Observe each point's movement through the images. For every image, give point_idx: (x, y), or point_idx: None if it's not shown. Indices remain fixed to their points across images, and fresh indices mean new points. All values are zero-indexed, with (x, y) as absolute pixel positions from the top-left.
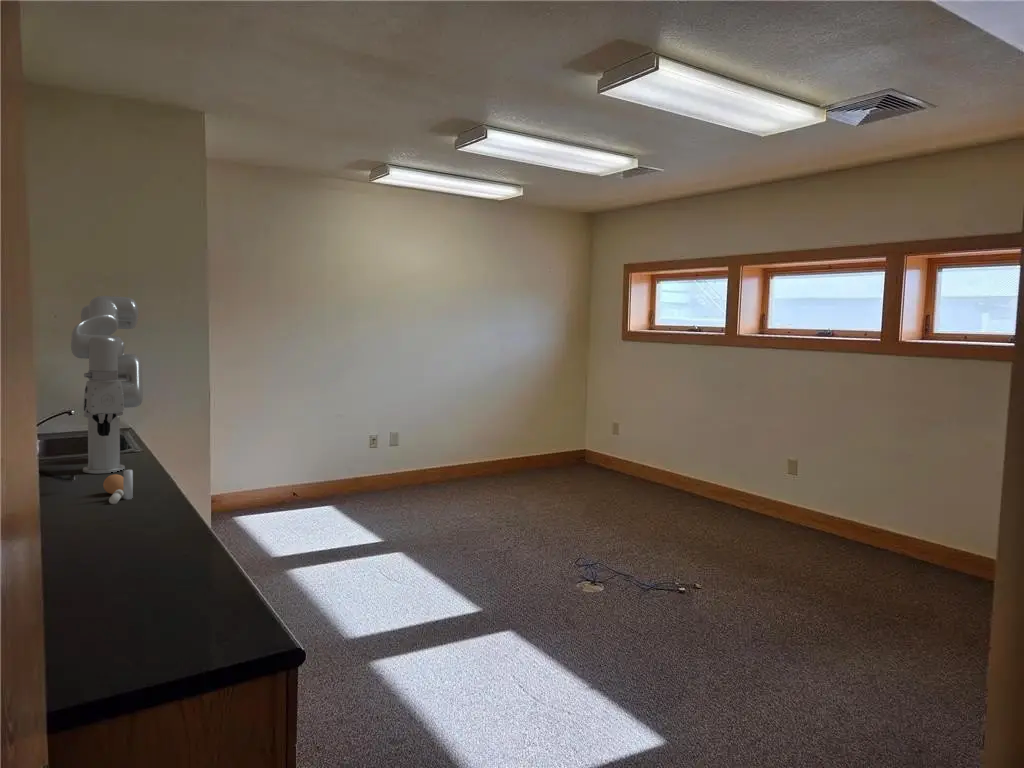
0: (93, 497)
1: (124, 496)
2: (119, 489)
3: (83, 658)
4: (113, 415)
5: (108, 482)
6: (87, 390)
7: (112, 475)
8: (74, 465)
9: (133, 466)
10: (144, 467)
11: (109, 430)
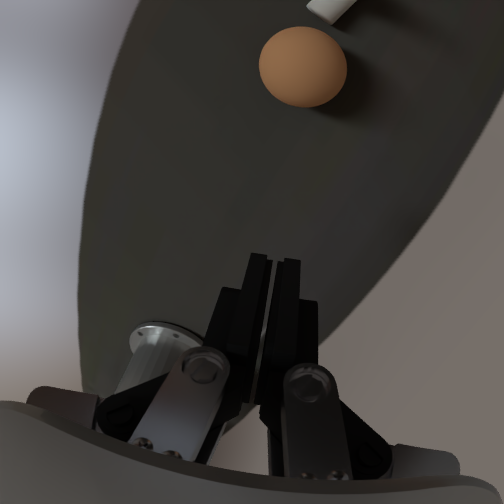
0: (377, 80)
1: None
2: (320, 9)
3: None
4: (129, 417)
5: (342, 52)
6: None
7: (317, 62)
8: None
9: (112, 337)
10: (95, 315)
11: (224, 294)
